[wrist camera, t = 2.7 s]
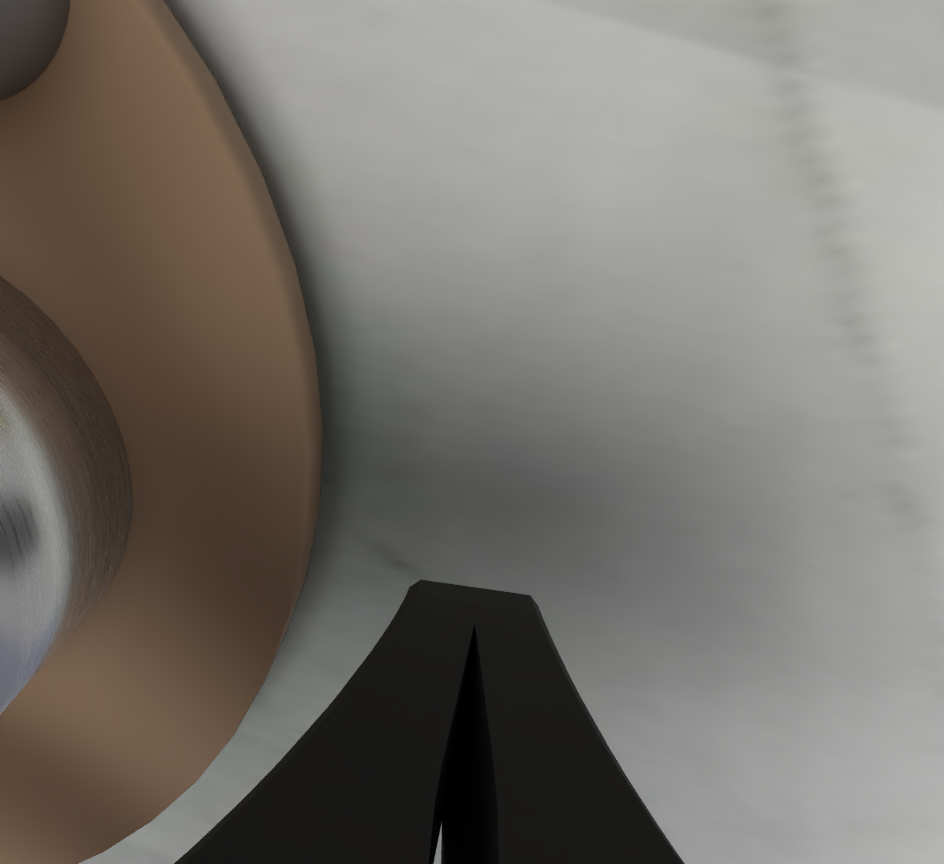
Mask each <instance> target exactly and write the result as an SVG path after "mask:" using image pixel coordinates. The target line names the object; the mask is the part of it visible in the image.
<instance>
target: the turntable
mask: <svg viewBox="0 0 944 864" xmlns="http://www.w3.org/2000/svg"><path fill="white" fill-rule="evenodd" d="M0 276H1V277H3V278H4V279H5V280H7V281H8V282H9V283H11V284H12V285H13V286H14V287H16V288H17V289H18V290H20V291H21V292H22V293H24V294H25V295H26V296H27V297H28V298H29V299H30V300H31V301H32V302H33V303H34V304H35V305H36V306H37V307H38V308H40V309H41V310H42V311H43V312H44V313H45V314H46V315H47V316H48V317H49V318H50V319H51V320H52V321H53V322H54V323H55V325H56V326H57V327H58V328H59V329H60V330H61V332H62V333H63V334H64V335H65V336H66V337H67V339H68V340H69V341H70V342H71V343H72V344H73V346H74V347H75V348H76V349H77V351H78V352H79V354H80V355H81V357H82V358H83V360H84V361H85V363H86V364H87V366H88V367H89V369H90V370H91V371H92V373H93V374H94V376H95V377H96V379H97V381H98V383H99V385H100V387H101V389H102V391H103V393H104V394H105V396H106V398H107V400H108V402H109V404H110V406H111V408H112V411H113V413H114V416H115V418H116V421H117V424H118V426H119V429H120V431H121V434H122V437H123V440H124V445H125V449H126V453H127V457H128V461H129V465H130V472H131V482H132V491H133V505H132V524H131V529H130V534H129V539H128V544H127V549H126V551H125V554H124V557H123V559H122V562H121V565H120V567H119V570H118V572H117V574H116V576H115V577H114V579H113V581H112V582H111V584H110V586H109V588H108V589H107V591H106V593H105V594H104V595H103V596H102V597H101V599H100V600H99V601H98V602H97V603H96V605H95V606H94V607H93V608H92V609H91V611H90V612H89V613H88V614H87V615H86V616H85V618H84V619H83V620H82V621H81V622H80V623H79V624H78V626H77V627H76V628H75V629H74V630H73V631H72V633H71V634H70V635H69V636H68V637H67V638H66V639H65V641H64V642H63V643H62V644H61V645H60V646H59V648H58V649H57V650H56V651H55V652H54V653H53V654H52V656H51V657H50V658H49V659H48V660H47V661H46V663H45V664H44V665H43V666H42V667H41V668H40V669H39V671H38V672H37V673H36V674H35V675H34V676H33V678H32V679H31V680H30V681H29V682H28V683H27V684H26V686H25V687H24V688H23V689H22V690H21V691H20V693H19V694H18V695H17V696H16V697H15V698H14V699H13V701H12V702H11V703H10V704H9V705H8V706H7V708H6V709H5V710H4V711H3V712H2V713H1V714H0V864H78V863H80V862H82V861H84V860H87V859H89V858H91V857H93V856H95V855H98V854H100V853H102V852H104V851H106V850H107V849H109V848H110V847H112V846H113V845H115V844H116V843H118V842H120V841H121V840H123V839H124V838H126V837H127V836H129V835H130V834H132V833H134V832H135V831H137V830H138V829H140V828H141V827H143V826H144V825H146V824H148V823H149V822H151V821H152V820H153V819H154V818H156V817H157V816H158V815H159V814H160V813H161V812H162V811H163V810H165V809H166V808H167V807H168V806H169V805H170V804H171V803H172V802H174V801H175V800H176V799H177V798H178V797H179V796H180V795H181V794H183V793H184V792H185V791H186V790H187V789H188V788H189V787H190V786H192V785H193V784H194V783H195V782H196V781H197V780H198V778H199V777H200V776H201V775H202V773H203V772H204V771H205V770H206V769H207V767H208V766H209V765H210V764H211V762H212V761H213V760H214V759H215V757H216V756H217V755H218V754H219V753H220V751H221V750H222V749H223V748H224V746H225V745H226V744H227V743H228V741H229V740H230V739H231V738H232V737H233V735H234V734H235V732H236V730H237V728H238V726H239V725H240V723H241V721H242V719H243V718H244V716H245V714H246V712H247V711H248V709H249V707H250V705H251V703H252V702H253V700H254V698H255V696H256V695H257V693H258V691H259V689H260V688H261V686H262V684H263V682H264V681H265V678H266V676H267V674H268V671H269V669H270V667H271V665H272V662H273V660H274V658H275V656H276V653H277V651H278V649H279V647H280V644H281V642H282V640H283V638H284V635H285V633H286V630H287V627H288V625H289V622H290V619H291V616H292V614H293V611H294V608H295V606H296V603H297V600H298V597H299V595H300V592H301V589H302V586H303V584H304V581H305V578H306V576H307V571H308V566H309V560H310V555H311V550H312V545H313V540H314V535H315V530H316V525H317V520H318V515H319V510H320V493H321V471H322V449H323V427H322V416H321V405H320V395H319V384H318V374H317V363H316V353H315V348H314V344H313V340H312V335H311V331H310V327H309V322H308V318H307V313H306V309H305V305H304V300H303V296H302V292H301V287H300V283H299V278H298V274H297V270H296V265H295V263H294V260H293V257H292V254H291V252H290V249H289V246H288V243H287V241H286V238H285V235H284V232H283V230H282V227H281V224H280V221H279V219H278V216H277V213H276V210H275V208H274V205H273V202H272V199H271V197H270V194H269V191H268V188H267V185H266V183H265V180H264V177H263V174H262V172H261V170H260V168H259V166H258V164H257V162H256V160H255V158H254V156H253V154H252V152H251V150H250V148H249V146H248V144H247V142H246V140H245V138H244V136H243V134H242V132H241V130H240V128H239V126H238V124H237V122H236V120H235V118H234V116H233V114H232V112H231V110H230V108H229V106H228V104H227V102H226V100H225V98H224V96H223V94H222V92H221V90H220V88H219V86H218V84H217V82H216V80H215V78H214V77H213V75H212V74H211V72H210V71H209V69H208V67H207V66H206V64H205V63H204V61H203V60H202V58H201V57H200V55H199V54H198V52H197V51H196V49H195V47H194V46H193V44H192V43H191V41H190V40H189V38H188V37H187V35H186V34H185V32H184V31H183V29H182V27H181V26H180V24H179V23H178V21H177V20H176V18H175V17H174V15H173V14H172V12H171V11H170V9H169V7H168V6H167V4H166V3H165V1H164V0H0Z"/></svg>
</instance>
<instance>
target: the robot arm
mask: <svg viewBox="0 0 944 864" xmlns="http://www.w3.org/2000/svg"><path fill="white" fill-rule="evenodd" d="M441 823H442V849H441V864H684V862H683V861H682V859H681V858H680V857H679V855H678V854H677V852H676V851H675V850H674V848H673V847H672V845H671V844H670V842H669V841H668V839H667V838H666V836H665V835H664V833H663V832H662V831H661V829H660V828H659V826H658V825H657V823H656V822H655V820H654V819H653V817H652V815H651V814H650V812H649V811H648V809H647V808H646V806H645V805H644V803H643V802H642V800H641V798H640V797H639V795H638V794H637V792H636V791H635V789H634V788H633V786H632V784H631V783H630V781H629V780H628V778H627V777H626V775H625V773H624V772H623V770H622V768H621V767H620V765H619V763H618V762H617V760H616V758H615V757H614V755H613V753H612V752H611V750H610V749H609V747H608V745H607V743H606V741H605V740H604V738H603V736H602V734H601V733H600V731H599V729H598V727H597V725H596V724H595V722H594V720H593V718H592V717H591V715H590V713H589V711H588V709H587V708H586V706H585V704H584V702H583V701H582V699H581V697H580V695H579V693H578V691H577V689H576V687H575V685H574V683H573V682H572V680H571V678H570V676H569V674H568V672H567V670H566V668H565V665H564V663H563V661H562V659H561V657H560V655H559V653H558V651H557V649H556V647H555V645H554V643H553V640H552V638H551V636H550V634H549V631H548V629H547V627H546V624H545V622H544V620H543V617H542V615H541V612H540V610H539V607H538V605H537V604H536V603H535V601H534V600H533V598H532V597H531V596H530V595H524V594H517V593H510V592H503V591H496V590H489V589H482V588H475V587H468V586H461V585H454V584H447V583H440V582H433V581H426V580H420V581H418V582H417V583H415V584H414V585H412V586H411V587H409V590H408V592H407V594H406V597H405V599H404V601H403V602H402V604H401V606H400V608H399V610H398V612H397V613H396V615H395V617H394V618H393V620H392V621H391V623H390V625H389V626H388V628H387V629H386V631H385V632H384V634H383V635H382V637H381V638H380V639H379V641H378V642H377V644H376V645H375V647H374V648H373V650H372V651H371V652H370V654H369V655H368V656H367V658H366V659H365V660H364V662H363V663H362V664H361V666H360V667H359V668H358V669H357V671H356V672H355V673H354V675H353V676H352V677H351V679H350V680H349V681H348V682H347V684H346V685H345V686H344V688H343V689H342V690H341V692H340V693H339V694H338V695H337V697H336V698H335V699H334V700H333V702H332V703H331V704H330V705H329V706H328V708H327V709H326V710H325V711H324V712H323V713H322V714H321V716H320V717H319V718H318V719H317V720H316V721H315V722H314V723H313V725H312V726H311V727H310V728H309V729H308V730H307V731H306V732H305V734H304V735H303V736H302V737H301V738H300V739H299V740H298V741H297V743H296V744H295V745H294V746H293V747H292V748H291V749H290V751H289V752H288V753H287V754H286V755H285V756H284V757H283V758H282V760H281V761H280V762H279V763H278V764H277V765H276V766H275V767H274V768H273V769H272V770H271V771H270V772H269V773H268V774H267V775H266V776H265V777H264V778H263V779H262V780H261V781H260V783H259V784H258V785H257V786H256V787H255V788H254V789H253V790H252V791H251V792H250V793H249V794H248V795H247V796H246V797H245V798H244V799H243V800H242V801H241V802H240V803H239V804H238V805H237V806H236V807H235V808H234V809H233V810H232V811H230V812H229V813H228V814H227V815H226V816H225V817H224V818H223V819H222V820H221V821H220V822H219V823H218V824H217V825H216V826H215V827H214V828H213V829H212V830H210V831H209V832H208V833H207V834H206V835H205V836H204V837H203V838H202V839H201V840H200V841H199V842H198V843H197V844H196V845H195V846H193V847H192V848H191V849H190V850H189V851H188V852H187V853H186V854H185V855H183V856H182V857H181V858H180V859H179V860H178V861H177V862H175V863H174V864H433V863H434V858H435V853H436V848H437V843H438V838H439V833H440V828H441Z"/></svg>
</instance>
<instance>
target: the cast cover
mask: <svg viewBox="0 0 944 864" xmlns="http://www.w3.org/2000/svg"><path fill="white" fill-rule="evenodd" d="M132 505H133V491H132V482H131V472H130V465H129V461H128V457H127V453H126V449H125V445H124V440H123V437H122V434H121V431H120V429H119V426H118V424H117V421H116V418H115V416H114V413H113V411H112V408H111V406H110V404H109V402H108V400H107V398H106V396H105V394H104V393H103V391H102V389H101V387H100V385H99V383H98V381H97V379H96V377H95V376H94V374H93V373H92V371H91V370H90V369H89V367H88V366H87V364H86V363H85V361H84V360H83V358H82V357H81V355H80V354H79V352H78V351H77V349H76V348H75V347H74V346H73V344H72V343H71V342H70V341H69V340H68V339H67V337H66V336H65V335H64V334H63V333H62V332H61V330H60V329H59V328H58V327H57V326H56V325H55V323H54V322H53V321H52V320H51V319H50V318H49V317H48V316H47V315H46V314H45V313H44V312H43V311H42V310H41V309H40V308H38V307H37V306H36V305H35V304H34V303H33V302H32V301H31V300H30V299H29V298H28V297H27V296H26V295H25V294H24V293H22V292H21V291H20V290H18V289H17V288H16V287H14V286H13V285H12V284H11V283H9V282H8V281H7V280H5V279H4V278H3V277H1V276H0V714H1V713H2V712H3V711H4V710H5V709H6V708H7V706H8V705H9V704H10V703H11V702H12V701H13V699H14V698H15V697H16V696H17V695H18V694H19V693H20V691H21V690H22V689H23V688H24V687H25V686H26V684H27V683H28V682H29V681H30V680H31V679H32V678H33V676H34V675H35V674H36V673H37V672H38V671H39V669H40V668H41V667H42V666H43V665H44V664H45V663H46V661H47V660H48V659H49V658H50V657H51V656H52V654H53V653H54V652H55V651H56V650H57V649H58V648H59V646H60V645H61V644H62V643H63V642H64V641H65V639H66V638H67V637H68V636H69V635H70V634H71V633H72V631H73V630H74V629H75V628H76V627H77V626H78V624H79V623H80V622H81V621H82V620H83V619H84V618H85V616H86V615H87V614H88V613H89V612H90V611H91V609H92V608H93V607H94V606H95V605H96V603H97V602H98V601H99V600H100V599H101V597H102V596H103V595H104V594H105V593H106V591H107V589H108V588H109V586H110V584H111V582H112V581H113V579H114V577H115V576H116V574H117V572H118V570H119V567H120V565H121V562H122V559H123V557H124V554H125V551H126V549H127V544H128V539H129V534H130V529H131V524H132Z"/></svg>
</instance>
